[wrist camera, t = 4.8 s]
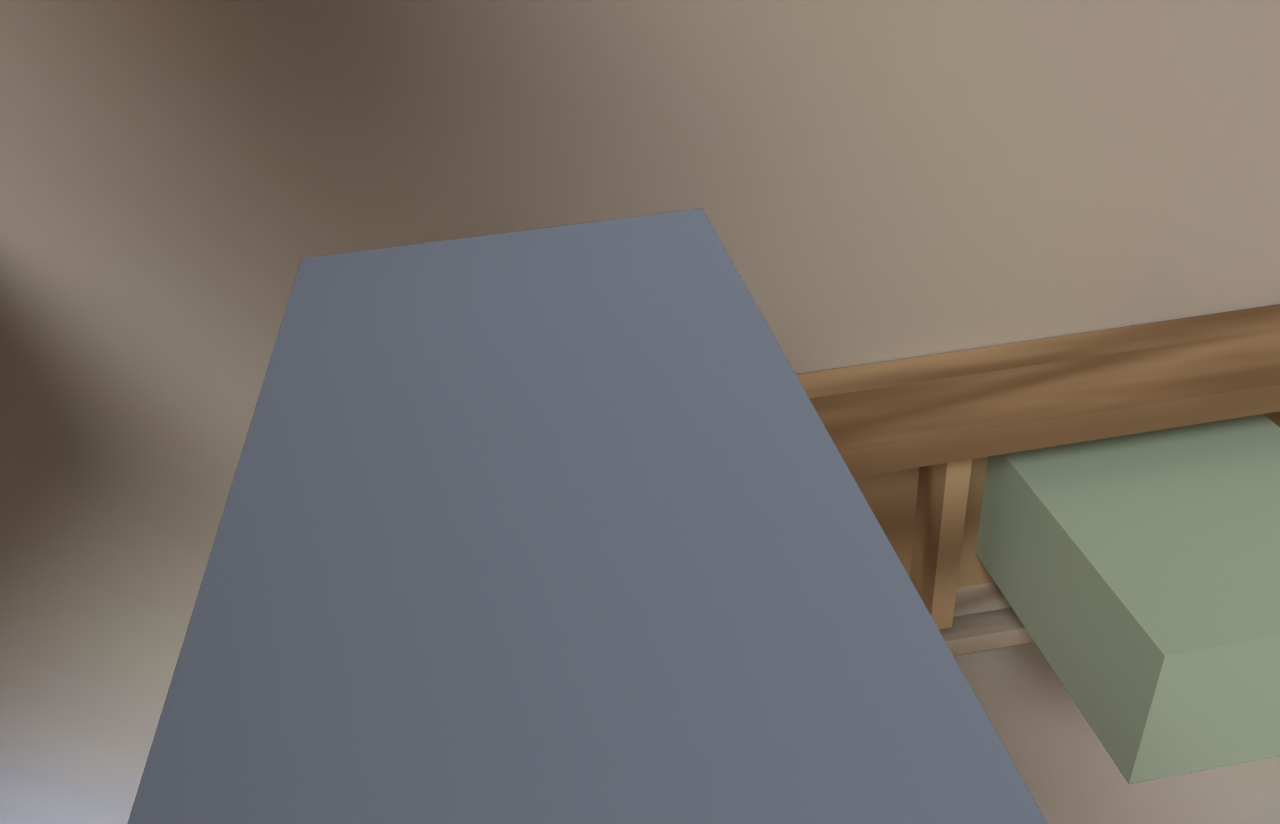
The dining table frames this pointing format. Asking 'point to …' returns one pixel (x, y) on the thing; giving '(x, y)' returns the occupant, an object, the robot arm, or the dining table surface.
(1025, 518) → the sage box
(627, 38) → the dining table surface
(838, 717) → the tea box
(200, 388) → the dining table surface
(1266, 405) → the shelf
